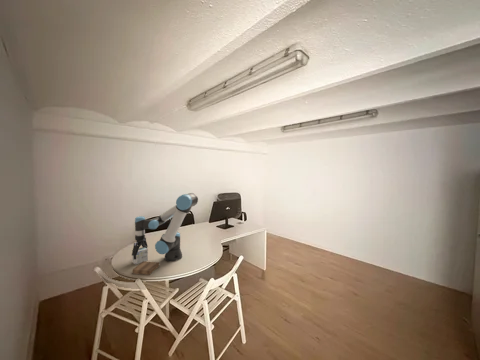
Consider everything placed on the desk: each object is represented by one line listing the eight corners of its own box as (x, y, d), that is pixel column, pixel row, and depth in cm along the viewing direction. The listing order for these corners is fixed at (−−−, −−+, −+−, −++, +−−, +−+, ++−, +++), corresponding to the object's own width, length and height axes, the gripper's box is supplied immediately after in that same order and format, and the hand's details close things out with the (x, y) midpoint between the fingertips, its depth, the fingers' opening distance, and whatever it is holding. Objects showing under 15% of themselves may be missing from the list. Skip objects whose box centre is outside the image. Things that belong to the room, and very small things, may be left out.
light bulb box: (144, 258, 177) (144, 246, 176) (148, 260, 173) (148, 248, 172) (131, 262, 169) (131, 250, 168) (135, 264, 164) (135, 252, 164)
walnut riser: (159, 265, 163) (159, 262, 163) (149, 274, 149) (149, 270, 149) (143, 264, 165) (143, 261, 164) (132, 273, 151) (132, 269, 150)
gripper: (144, 230, 182) (144, 253, 183) (126, 239, 158) (126, 265, 159) (151, 230, 181) (151, 253, 182) (135, 239, 157) (135, 266, 158)
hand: (140, 259), depth 170 cm, fingers closed on light bulb box, 12 cm apart
